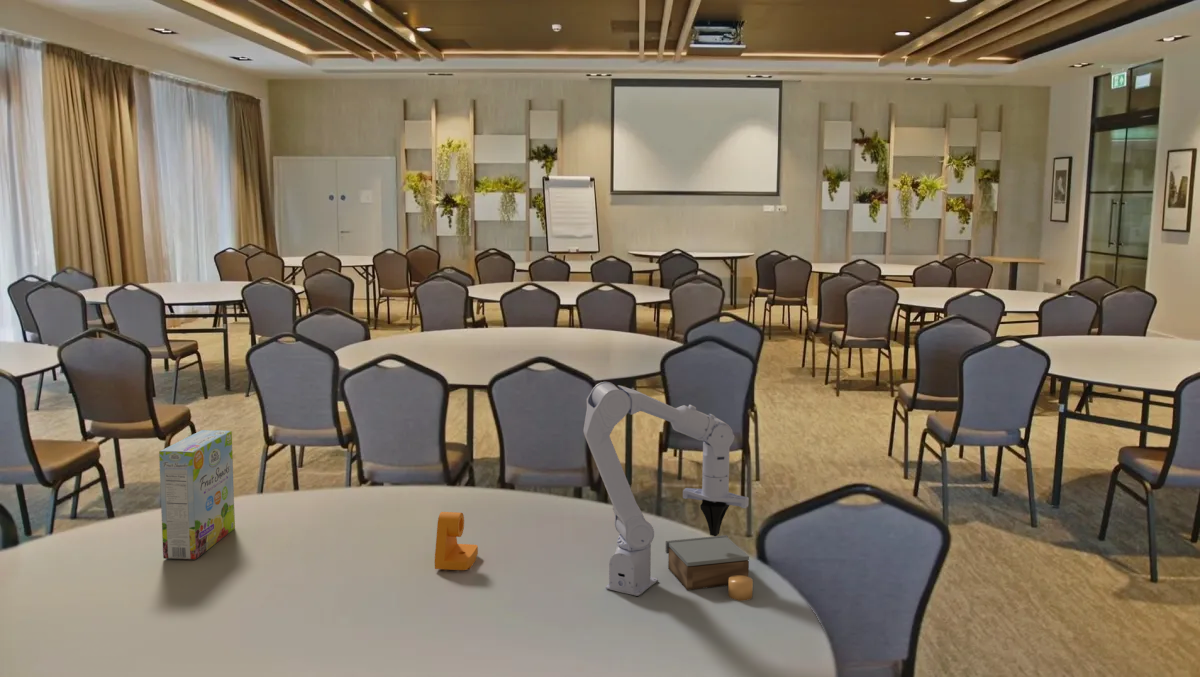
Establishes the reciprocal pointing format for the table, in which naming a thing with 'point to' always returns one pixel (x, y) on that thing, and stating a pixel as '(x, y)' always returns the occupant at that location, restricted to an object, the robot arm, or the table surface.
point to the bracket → (452, 544)
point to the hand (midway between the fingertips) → (714, 534)
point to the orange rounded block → (740, 587)
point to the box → (705, 572)
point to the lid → (706, 550)
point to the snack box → (196, 493)
